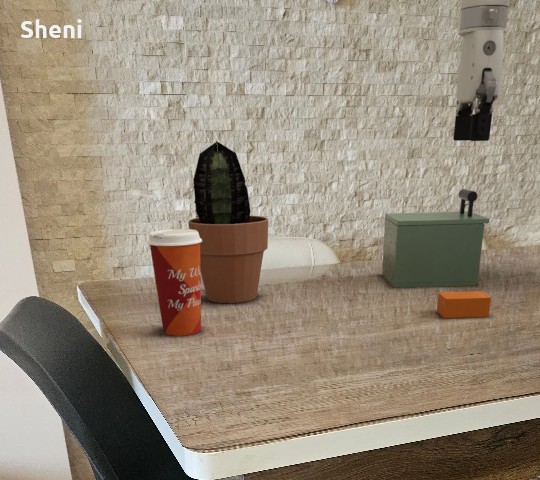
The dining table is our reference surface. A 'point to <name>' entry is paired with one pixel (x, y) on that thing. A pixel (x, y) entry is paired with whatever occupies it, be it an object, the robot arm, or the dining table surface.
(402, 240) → the waste bin
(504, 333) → the dining table surface
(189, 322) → the paper cup
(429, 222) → the bin lid
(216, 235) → the potted plant
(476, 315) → the block
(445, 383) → the dining table surface
